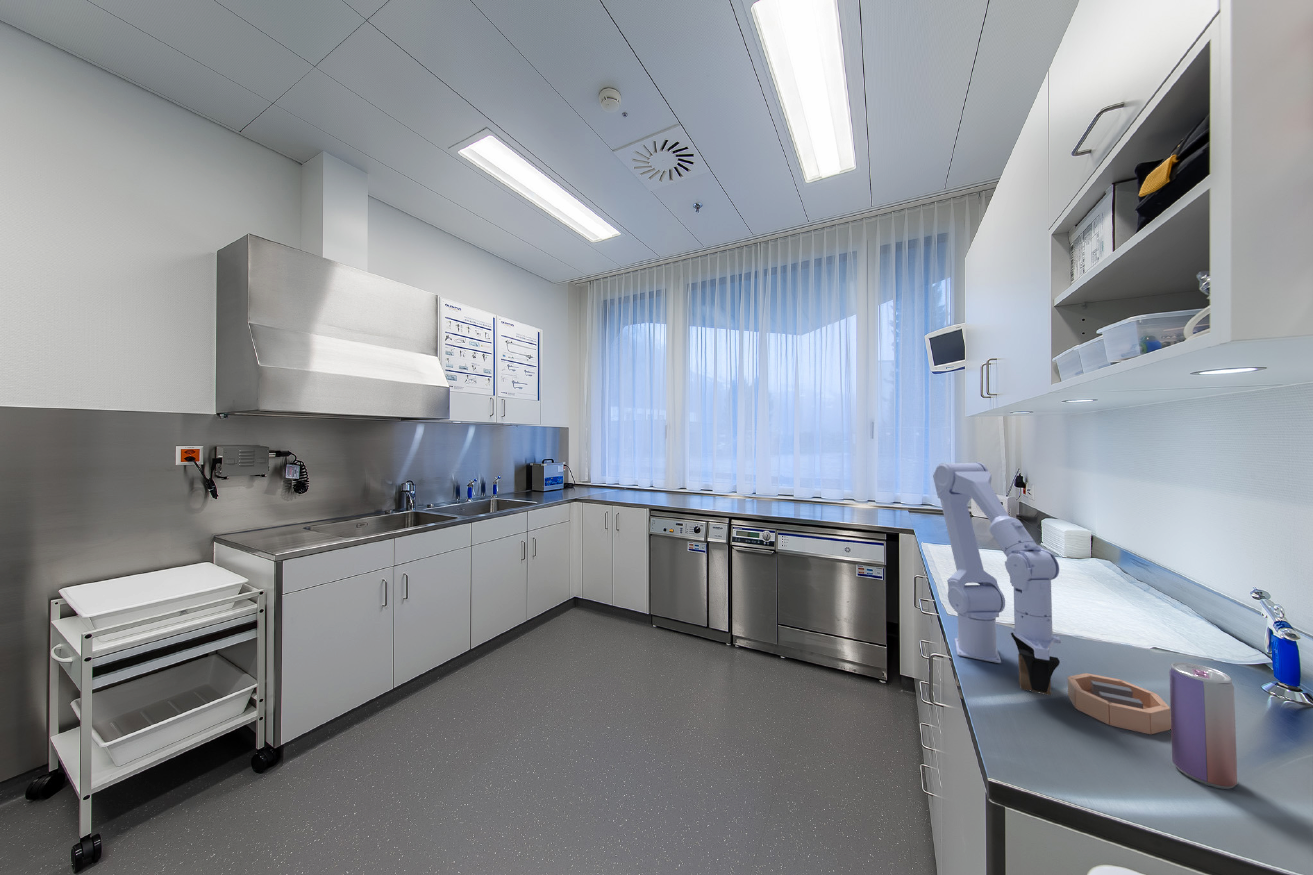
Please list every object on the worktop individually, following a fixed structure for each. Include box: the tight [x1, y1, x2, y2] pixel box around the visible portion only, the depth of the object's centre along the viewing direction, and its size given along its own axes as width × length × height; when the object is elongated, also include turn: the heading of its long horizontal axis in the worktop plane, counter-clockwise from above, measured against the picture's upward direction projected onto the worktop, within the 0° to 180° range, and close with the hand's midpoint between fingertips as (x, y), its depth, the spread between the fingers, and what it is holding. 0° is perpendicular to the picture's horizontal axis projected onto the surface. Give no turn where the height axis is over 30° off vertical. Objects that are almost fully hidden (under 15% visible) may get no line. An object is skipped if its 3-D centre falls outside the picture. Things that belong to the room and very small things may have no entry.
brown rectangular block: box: [1017, 653, 1052, 696], centre depth 87 cm, size 2×4×6 cm, turn 59°
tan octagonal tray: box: [1066, 672, 1171, 735], centre depth 80 cm, size 12×12×4 cm
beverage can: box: [1168, 661, 1238, 790], centre depth 65 cm, size 6×6×15 cm
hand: (1034, 681), depth 87 cm, fingers open, 7 cm apart
